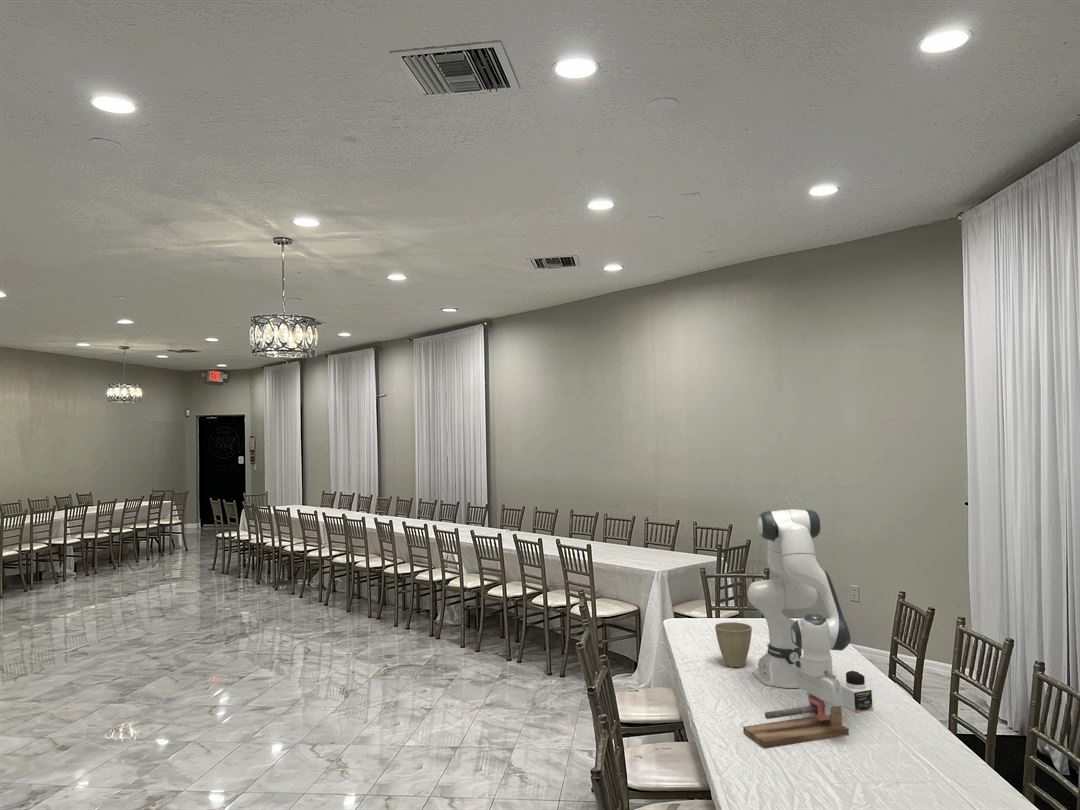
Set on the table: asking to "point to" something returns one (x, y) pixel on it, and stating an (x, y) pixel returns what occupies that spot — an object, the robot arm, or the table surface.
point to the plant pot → (734, 642)
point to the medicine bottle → (856, 692)
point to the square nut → (818, 708)
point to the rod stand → (796, 727)
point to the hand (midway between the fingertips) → (820, 710)
